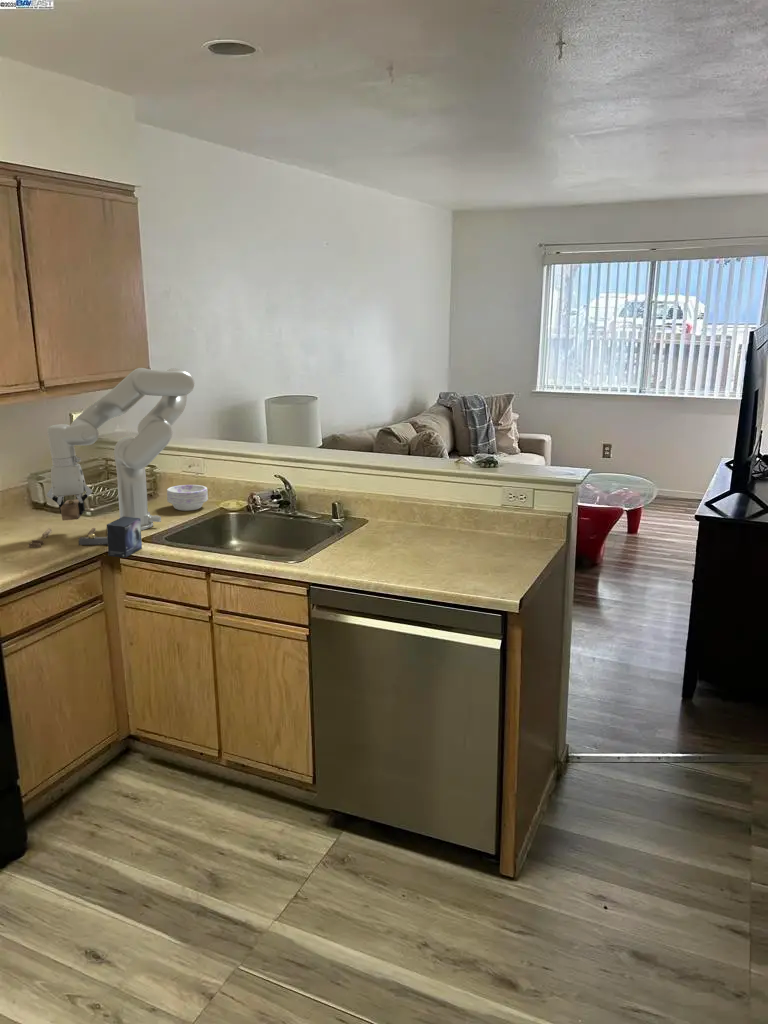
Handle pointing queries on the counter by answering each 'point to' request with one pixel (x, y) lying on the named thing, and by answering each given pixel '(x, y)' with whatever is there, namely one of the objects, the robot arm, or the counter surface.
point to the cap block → (70, 510)
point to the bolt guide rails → (50, 532)
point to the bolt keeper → (36, 543)
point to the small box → (124, 537)
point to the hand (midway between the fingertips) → (73, 513)
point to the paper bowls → (187, 496)
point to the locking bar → (92, 540)
